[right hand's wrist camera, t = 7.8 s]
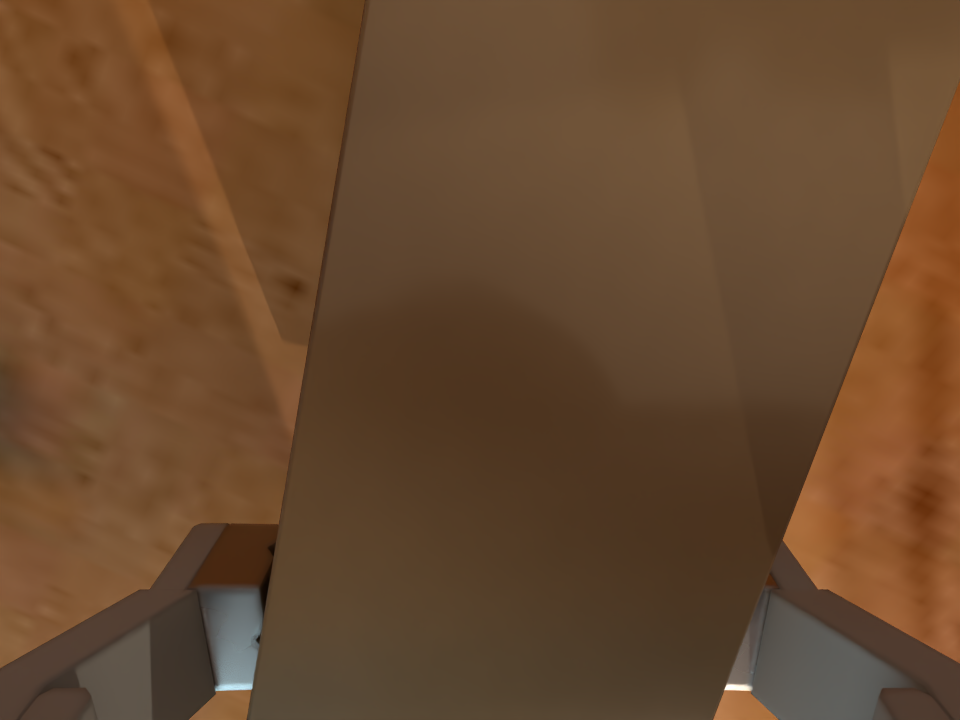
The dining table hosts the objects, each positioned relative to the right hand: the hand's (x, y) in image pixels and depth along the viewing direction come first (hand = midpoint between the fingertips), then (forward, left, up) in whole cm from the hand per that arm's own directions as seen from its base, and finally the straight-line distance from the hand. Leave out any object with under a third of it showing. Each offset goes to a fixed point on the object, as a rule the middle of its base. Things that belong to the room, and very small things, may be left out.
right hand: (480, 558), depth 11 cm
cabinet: (+3, +2, -7) cm, 8 cm away
